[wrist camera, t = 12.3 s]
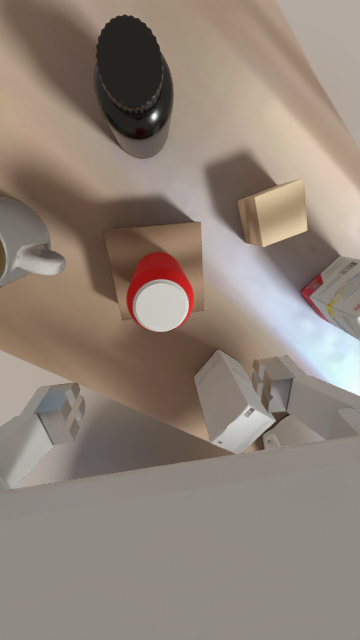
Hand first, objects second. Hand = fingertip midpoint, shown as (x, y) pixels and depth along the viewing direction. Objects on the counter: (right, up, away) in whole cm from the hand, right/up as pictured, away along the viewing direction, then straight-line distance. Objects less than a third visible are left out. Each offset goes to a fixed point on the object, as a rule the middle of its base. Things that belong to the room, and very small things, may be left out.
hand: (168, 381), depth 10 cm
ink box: (+27, +8, +29) cm, 40 cm away
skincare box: (+8, -7, +33) cm, 35 cm away
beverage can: (-2, +9, +19) cm, 21 cm away
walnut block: (-3, +11, +23) cm, 26 cm away
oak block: (+12, +18, +22) cm, 31 cm away
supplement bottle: (-4, +26, +16) cm, 31 cm away
